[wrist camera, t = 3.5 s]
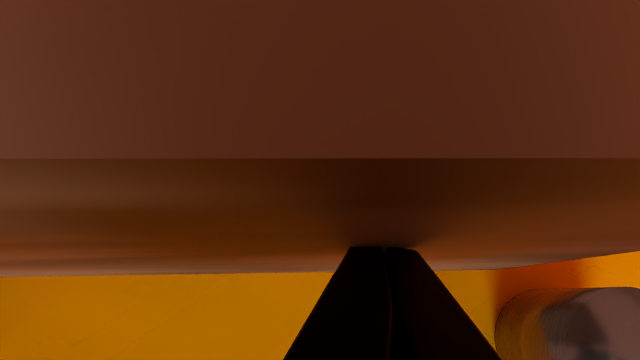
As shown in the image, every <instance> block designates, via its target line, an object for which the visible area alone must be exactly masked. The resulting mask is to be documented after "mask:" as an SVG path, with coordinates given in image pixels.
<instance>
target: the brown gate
mask: <svg viewBox="0 0 640 360" xmlns="http://www.w3.org/2000/svg"><path fill="white" fill-rule="evenodd" d="M495 345H496V349H497V353H498V355H499V356H500V357H501V359H502V360H640V289H638V288H634V287H605V288H572V289H539V290H530V291H526V292H523V293H521V294H519V295H517V296H515V297H514V298H513V299H511V300H510V301H509V302H508V303H507V304H506V306H505V307H504V308H503V310H502V311H501V313H500V315H499V317H498V320H497V324H496V328H495Z"/></svg>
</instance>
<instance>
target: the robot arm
mask: <svg viewBox="0 0 640 360" xmlns="http://www.w3.org/2000/svg"><path fill="white" fill-rule="evenodd" d="M283 360H502V359H501V357H500V356H499V355H498V354H497V352H496V351H495V350H494V348H493V347H492V346H491V345H490V343H489V342H488V341H487V339H486V338H485V337H484V336H483V334H482V333H481V332H480V330H479V329H478V328H477V327H476V325H475V324H474V323H473V321H472V320H471V319H470V318H469V316H468V315H467V314H466V312H465V311H464V310H463V309H462V307H461V306H460V305H459V303H458V302H457V301H456V300H455V298H454V297H453V296H452V294H451V293H450V292H449V291H448V289H447V288H446V287H445V285H444V284H443V283H442V282H441V280H440V279H439V278H438V276H437V275H436V274H435V273H434V271H433V270H432V269H431V267H430V266H429V265H428V264H427V262H426V261H425V260H424V258H423V257H422V256H421V255H420V253H419V252H417V251H416V250H413V249H407V248H399V247H389V248H386V249H385V251H384V248H383V247H349V249H348V251H347V252H346V254H345V256H344V257H343V259H342V261H341V263H340V264H339V266H338V268H337V269H336V271H335V273H334V274H333V276H332V278H331V279H330V281H329V283H328V284H327V286H326V288H325V290H324V291H323V293H322V295H321V296H320V298H319V300H318V301H317V303H316V305H315V306H314V308H313V310H312V312H311V313H310V315H309V317H308V318H307V320H306V322H305V323H304V325H303V327H302V328H301V330H300V332H299V333H298V335H297V337H296V339H295V340H294V342H293V344H292V345H291V347H290V349H289V350H288V352H287V354H286V355H285V357H284V359H283Z"/></svg>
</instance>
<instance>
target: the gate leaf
mask: <svg viewBox="0 0 640 360" xmlns="http://www.w3.org/2000/svg"><path fill="white" fill-rule="evenodd" d="M349 247H383V248H384V251H385V249H386V248H389V247H399V248H407V249H413V250H416V251H417V252H419V253H420V255H421V256H422V257H423V258H424V260H425V261H426V262H427V264H428V265H429V266H430V267H431V269H432V270H496V269H504V268H511V267H519V266H527V265H535V264H542V263H550V262H558V261H565V260H573V259H581V258H588V257H596V256H604V255H612V254H619V253H627V252H635V251H640V0H0V277H18V276H87V275H156V274H225V273H293V272H335V271H336V269H337V268H338V266H339V264H340V263H341V261H342V259H343V257H344V256H345V254H346V252H347V251H348V249H349Z"/></svg>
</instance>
